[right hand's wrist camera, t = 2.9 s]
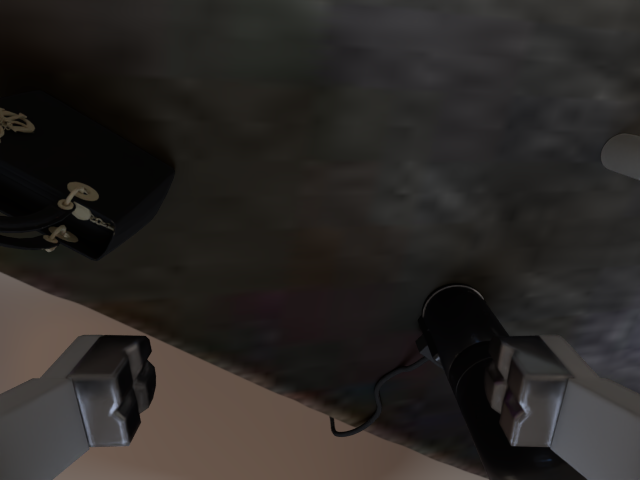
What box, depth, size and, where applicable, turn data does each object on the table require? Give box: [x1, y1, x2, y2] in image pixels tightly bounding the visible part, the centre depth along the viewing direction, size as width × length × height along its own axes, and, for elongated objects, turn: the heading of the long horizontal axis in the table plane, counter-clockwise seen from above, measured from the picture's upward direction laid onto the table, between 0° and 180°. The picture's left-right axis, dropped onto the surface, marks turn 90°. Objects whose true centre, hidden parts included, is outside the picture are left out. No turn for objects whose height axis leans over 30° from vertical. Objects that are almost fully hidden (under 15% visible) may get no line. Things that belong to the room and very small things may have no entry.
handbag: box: [0, 90, 175, 261], centre depth 45 cm, size 21×9×25 cm, turn 57°
